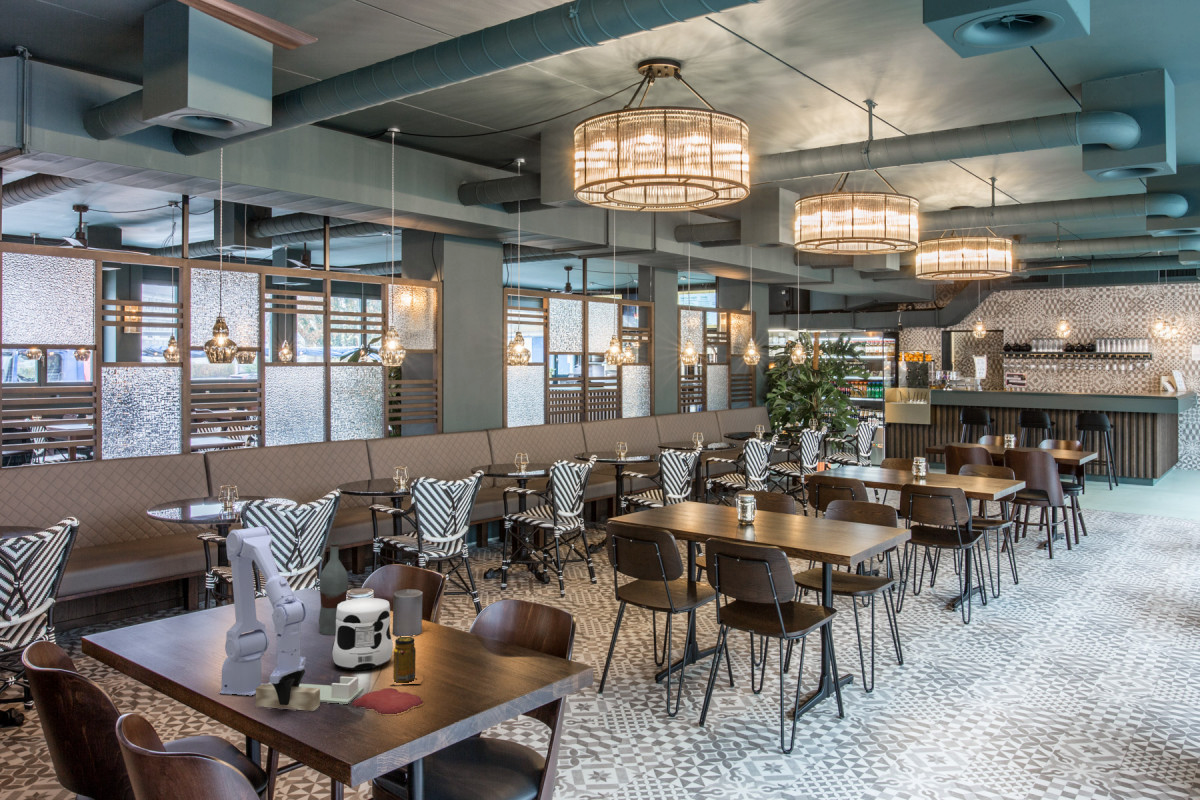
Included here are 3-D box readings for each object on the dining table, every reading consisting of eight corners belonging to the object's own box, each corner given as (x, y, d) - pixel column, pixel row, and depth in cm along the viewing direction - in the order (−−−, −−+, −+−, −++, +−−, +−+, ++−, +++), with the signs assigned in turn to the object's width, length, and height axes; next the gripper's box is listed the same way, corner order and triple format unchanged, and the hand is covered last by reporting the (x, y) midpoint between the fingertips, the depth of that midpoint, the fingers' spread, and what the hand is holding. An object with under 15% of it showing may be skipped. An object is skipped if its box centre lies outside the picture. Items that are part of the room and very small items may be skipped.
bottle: (312, 633, 267) (314, 544, 267) (329, 626, 276) (330, 539, 276) (336, 636, 264) (338, 546, 264) (353, 629, 273) (354, 541, 273)
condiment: (394, 676, 229) (394, 635, 229) (424, 676, 229) (424, 634, 229) (389, 686, 221) (390, 643, 221) (420, 685, 222) (421, 642, 222)
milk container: (364, 651, 250) (365, 594, 250) (404, 661, 241) (405, 602, 241) (319, 667, 236) (320, 606, 235) (360, 678, 227) (361, 615, 226)
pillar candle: (390, 630, 272) (390, 586, 272) (418, 627, 277) (419, 584, 276) (395, 639, 264) (396, 594, 263) (425, 635, 268) (425, 591, 267)
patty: (345, 706, 208) (345, 698, 208) (384, 689, 220) (384, 682, 220) (393, 721, 199) (394, 713, 199) (432, 703, 211) (432, 695, 211)
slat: (255, 707, 205) (255, 688, 205) (262, 703, 208) (262, 684, 208) (313, 712, 203) (314, 692, 203) (319, 707, 206) (320, 688, 206)
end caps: (267, 693, 213) (267, 679, 212) (278, 685, 218) (278, 672, 218) (348, 698, 210) (348, 685, 210) (358, 690, 216) (358, 677, 216)
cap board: (260, 698, 210) (261, 695, 210) (280, 685, 220) (280, 682, 220) (347, 704, 208) (347, 701, 208) (363, 690, 218) (363, 687, 218)
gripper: (289, 659, 198) (288, 713, 198) (316, 641, 212) (315, 692, 212) (262, 657, 198) (261, 711, 199) (291, 639, 213) (290, 690, 213)
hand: (287, 701), depth 205 cm, fingers closed on slat, 3 cm apart
